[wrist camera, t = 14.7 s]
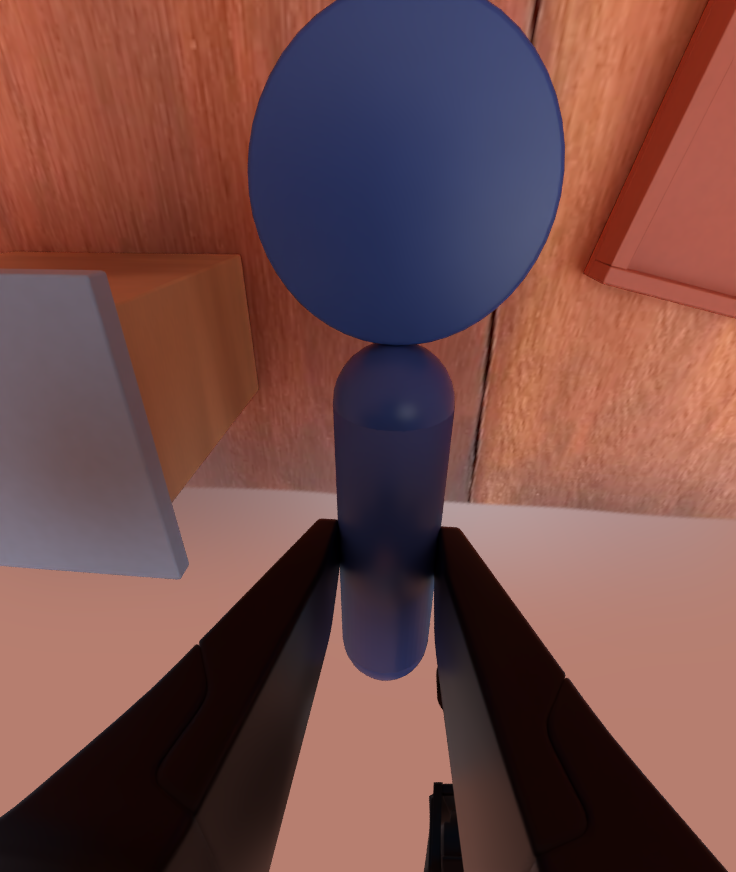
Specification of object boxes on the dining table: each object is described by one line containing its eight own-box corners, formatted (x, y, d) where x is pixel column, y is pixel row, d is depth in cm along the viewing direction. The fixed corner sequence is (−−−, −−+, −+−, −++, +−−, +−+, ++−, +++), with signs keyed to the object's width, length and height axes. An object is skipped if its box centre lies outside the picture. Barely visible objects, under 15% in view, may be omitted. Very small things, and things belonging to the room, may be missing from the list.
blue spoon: (462, 628, 11) (470, 707, 10) (312, 616, 12) (295, 690, 10) (571, 8, 5) (644, -72, 4) (255, 17, 6) (188, -54, 4)
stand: (241, 254, 18) (75, 319, 9) (259, 389, 21) (148, 535, 12) (12, 250, 19) (-339, 308, 10) (62, 381, 22) (-175, 513, 13)
